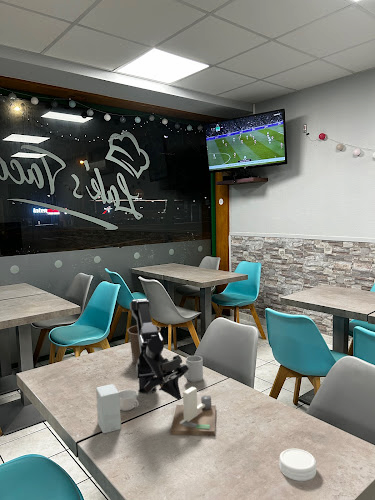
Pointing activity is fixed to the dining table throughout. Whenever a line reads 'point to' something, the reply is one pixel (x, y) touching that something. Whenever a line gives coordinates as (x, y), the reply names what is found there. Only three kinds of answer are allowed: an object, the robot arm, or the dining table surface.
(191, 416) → the lever
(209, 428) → the brown flat panel
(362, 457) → the dining table surface
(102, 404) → the small box
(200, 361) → the cup
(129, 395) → the teacup
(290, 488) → the dining table surface
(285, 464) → the coaster
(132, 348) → the plant pot
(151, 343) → the robot arm
